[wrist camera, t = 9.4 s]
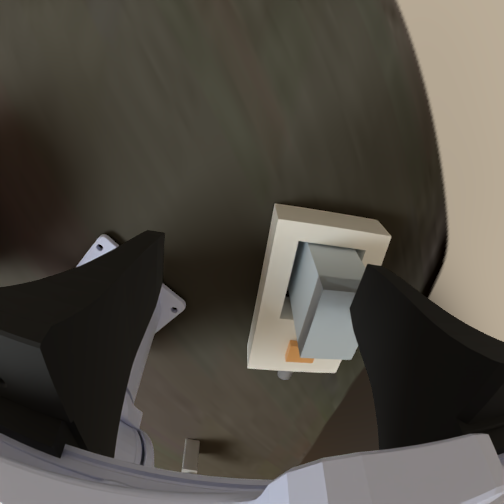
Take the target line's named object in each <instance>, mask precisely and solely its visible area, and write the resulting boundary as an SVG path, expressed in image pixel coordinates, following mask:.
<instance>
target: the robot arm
mask: <svg viewBox="0 0 504 504" xmlns="http://www.w3.org/2000/svg"><path fill="white" fill-rule="evenodd" d="M164 238H165V233H162V232H156V231H149V230H147V231H145V232H143V233H141V234H139V235H137V236H136V237H134V238H132V239H130V240H129V241H127V242H125V243H124V244H122V245H120V246H119V245H118V244H117V243H116V242H115V241H114V240H112V239H111V238H110V237H109V236H108V235H105V234H103V235H101V236H100V237H99V238H98V239H97V240H96V241H95V243H94V244H93V245H92V247H91V248H90V249H89V250H88V252H87V253H86V254H85V256H84V257H83V258H82V260H81V261H80V262H79V264H78V265H77V266H76V268H73V269H71V270H68V271H65V272H63V273H59V274H56V275H53V276H49V277H46V278H43V279H40V280H36V281H32V282H28V283H23V284H18V285H13V286H7V287H0V504H504V342H502V341H500V340H497V339H495V338H493V337H491V336H488V335H486V334H484V333H482V332H480V331H478V330H477V329H475V328H473V327H471V326H469V325H467V324H465V323H464V322H462V321H460V320H459V319H457V318H456V317H454V316H452V315H451V314H449V313H448V312H446V311H445V310H443V309H442V308H440V307H439V306H438V305H436V304H435V303H433V302H432V301H431V300H429V299H428V298H427V297H425V296H424V295H422V294H421V293H420V292H419V291H417V290H416V289H415V288H413V287H412V286H411V285H409V284H408V283H407V282H405V281H404V280H403V279H401V278H400V277H399V276H397V275H396V274H394V273H393V272H391V271H390V270H388V269H386V268H385V267H383V266H379V265H372V264H367V266H366V268H365V271H364V273H363V276H362V279H361V281H360V284H359V286H358V289H357V291H356V294H355V296H354V298H353V301H352V303H351V306H350V308H349V309H350V315H351V321H352V326H353V331H354V334H355V337H356V340H357V343H358V346H359V349H360V352H361V355H362V358H363V361H364V364H365V367H366V370H367V373H368V376H369V380H370V383H371V387H372V392H373V398H374V403H375V409H376V417H377V425H378V436H379V450H376V451H368V452H356V453H351V454H345V455H339V456H333V457H326V458H321V459H319V460H315V461H313V462H309V463H306V464H303V465H300V466H296V467H293V468H291V469H289V470H288V471H286V472H285V473H283V474H282V475H280V476H279V477H277V478H276V479H274V480H260V479H240V478H226V477H215V476H206V475H198V474H190V473H183V472H177V471H171V470H165V469H159V468H154V450H153V444H152V442H151V439H150V438H149V436H148V435H147V434H146V433H145V432H144V431H142V430H141V429H139V427H140V423H141V419H142V415H143V413H142V412H141V411H140V410H139V409H137V408H136V407H135V406H134V402H135V398H136V394H137V391H138V387H139V384H140V380H141V377H142V374H143V370H144V367H145V364H146V360H147V357H148V354H149V350H150V347H151V344H152V341H153V338H154V334H155V333H156V332H157V331H159V330H160V329H161V328H162V327H164V326H165V325H166V324H167V323H169V322H170V321H171V320H172V319H174V318H175V317H176V316H177V315H179V314H180V313H181V312H182V311H184V309H185V307H186V303H185V301H184V300H183V299H182V298H181V297H179V296H178V295H177V294H176V293H174V292H173V291H172V290H171V289H169V288H168V287H167V286H166V285H165V284H163V257H164ZM98 244H100V245H102V247H103V248H100V247H99V245H98ZM172 307H175V308H177V310H175V309H173V308H172Z"/></svg>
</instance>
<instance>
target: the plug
mask: <svg viewBox="0 0 504 504" xmlns="http://www.w3.org/2000/svg"><path fill="white" fill-rule="evenodd" d="M364 271H365V266H364V264H363V263H362V261H361V259H360V258H359V256H358V254H357V252H356V251H355V249H353V248H346V247H339V246H331V245H324V244H317V243H310V242H302V241H299V242H298V246H297V250H296V254H295V259H294V263H293V267H292V271H291V275H290V279H289V283H288V291H289V297H290V302H291V308H292V314H293V319H294V325H295V331H296V337H297V343H298V349H299V355H300V358H315V359H340V360H351V359H352V357H353V355H354V353H355V351H356V349H357V347H358V343H357V340H356V337H355V334H354V331H353V326H352V321H351V315H350V309H349V308H350V306H351V303H352V301H353V298H354V296H355V294H356V291H357V289H358V286H359V284H360V281H361V279H362V276H363V273H364Z"/></svg>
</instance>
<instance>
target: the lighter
mask: <svg viewBox="0 0 504 504" xmlns="http://www.w3.org/2000/svg"><path fill="white" fill-rule="evenodd" d="M199 447H200V441H199V440H192V439H186V441H185V448H184V456H183V464H182V472H183V473H190V474H197V468H198V457H199Z"/></svg>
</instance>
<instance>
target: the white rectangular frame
mask: <svg viewBox="0 0 504 504" xmlns="http://www.w3.org/2000/svg"><path fill="white" fill-rule="evenodd" d="M391 237H392V236H391V235H390V234H389V233H388V232H387V230H386V229H385V228H384V227H383V226H382V225H381V223H380V222H379V221H378V220H375V219H369V218H364V217H358V216H352V215H346V214H340V213H334V212H328V211H322V210H316V209H310V208H303V207H297V206H290V205H283V204H276V203H275V204H274V209H273V214H272V220H271V225H270V231H269V236H268V241H267V246H266V252H265V257H264V262H263V268H262V273H261V278H260V283H259V288H258V293H257V299H256V304H255V309H254V314H253V319H252V324H251V329H250V334H249V339H248V344H247V368H251V369H264V370H278V377H279V378H281V379H283V380H288V379H290V378H291V376H292V373H293V371H295V372H319V373H336V371H337V369H338V367H339V365H340V363H341V360H340V359H315V358H300V355H299V349H298V343H297V337H296V331H295V325H294V319H293V314H292V308H291V302H290V298H288V297H285V295H286V291H287V287H288V283H289V279H290V275H291V271H292V267H293V263H294V259H295V254H296V250H297V246H298V242H299V241H302V242H310V243H317V244H324V245H331V246H339V247H346V248H353V249H355V251H356V252H357V254H358V256H359V258H360V259H361V261H362V263H363V264H364V266H365V268H366V266H367V264H372V265H379V266H381V265H382V262H383V260H384V257H385V254H386V251H387V248H388V245H389V243H390V240H391Z"/></svg>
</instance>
